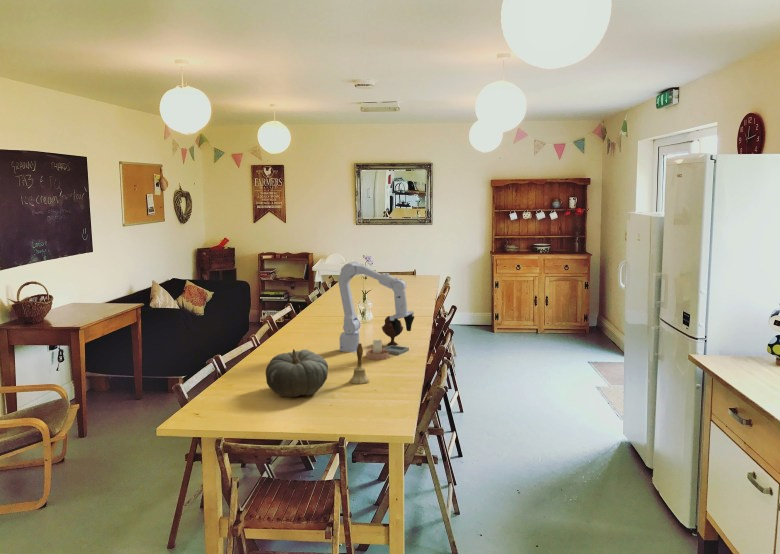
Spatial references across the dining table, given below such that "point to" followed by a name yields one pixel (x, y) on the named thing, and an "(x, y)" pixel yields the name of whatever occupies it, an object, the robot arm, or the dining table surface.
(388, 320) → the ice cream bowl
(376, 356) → the terracotta bowl
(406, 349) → the tray
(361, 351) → the hand bell
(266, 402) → the dining table surface
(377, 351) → the peg
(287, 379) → the gourd
